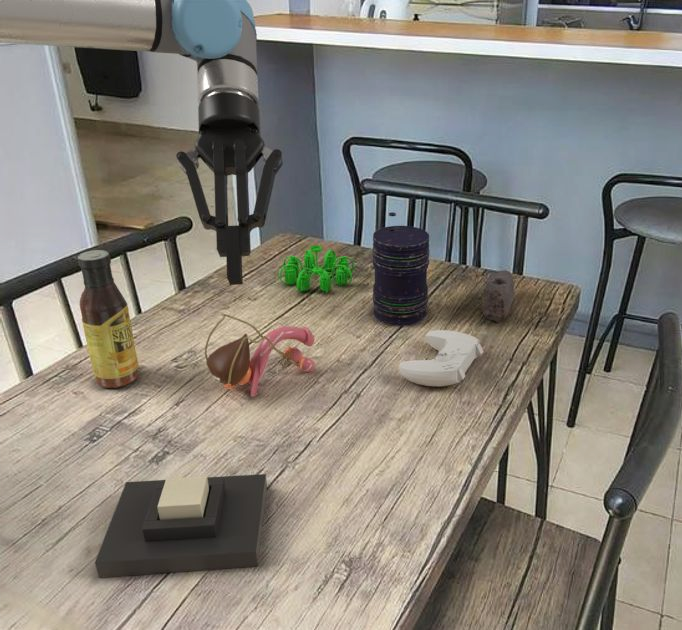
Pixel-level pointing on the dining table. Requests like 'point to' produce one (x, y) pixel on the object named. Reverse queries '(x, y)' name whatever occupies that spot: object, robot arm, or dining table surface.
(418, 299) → the storage jar
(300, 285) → the chandelier
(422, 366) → the game controller
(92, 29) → the robot arm
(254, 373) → the anatomy model
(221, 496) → the stepped tiered pedestal
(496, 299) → the perforated stone tool
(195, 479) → the key
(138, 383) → the dining table surface
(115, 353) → the sauce bottle
